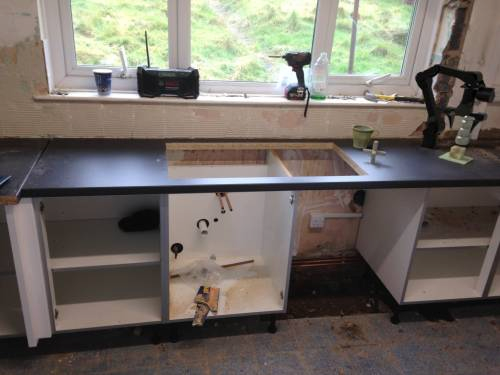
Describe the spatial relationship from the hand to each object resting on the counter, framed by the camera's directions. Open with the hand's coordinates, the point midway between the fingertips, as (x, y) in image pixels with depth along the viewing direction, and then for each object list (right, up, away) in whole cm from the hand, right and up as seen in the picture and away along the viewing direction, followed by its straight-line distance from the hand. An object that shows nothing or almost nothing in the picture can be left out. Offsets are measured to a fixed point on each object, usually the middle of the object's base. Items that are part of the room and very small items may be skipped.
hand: (460, 131), depth 206 cm
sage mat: (-3, -13, -1) cm, 14 cm away
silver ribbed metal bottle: (+10, -5, +21) cm, 24 cm away
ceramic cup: (-45, -7, +8) cm, 47 cm away
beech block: (-3, -13, -1) cm, 13 cm away
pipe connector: (-46, -16, -12) cm, 51 cm away
